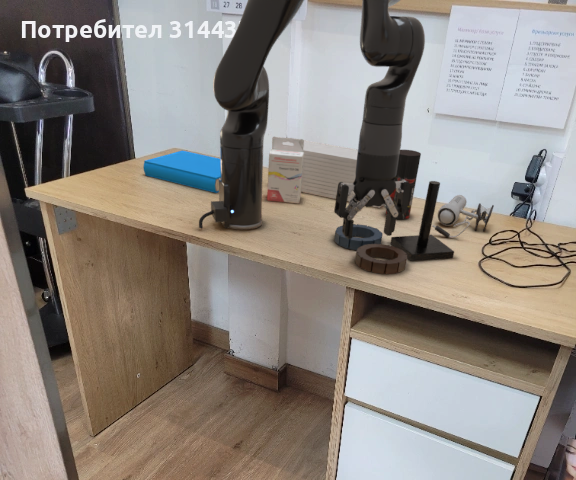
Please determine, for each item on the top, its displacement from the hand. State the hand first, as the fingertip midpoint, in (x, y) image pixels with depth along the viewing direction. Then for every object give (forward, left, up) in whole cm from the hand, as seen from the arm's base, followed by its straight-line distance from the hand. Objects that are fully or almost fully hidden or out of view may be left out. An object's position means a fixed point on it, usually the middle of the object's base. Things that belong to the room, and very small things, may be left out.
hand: (367, 236), depth 109 cm
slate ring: (+4, +12, -6) cm, 14 cm away
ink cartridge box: (-4, +43, -6) cm, 44 cm away
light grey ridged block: (+11, +48, -6) cm, 49 cm away
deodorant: (+21, +27, -6) cm, 34 cm away
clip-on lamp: (+32, +16, -6) cm, 36 cm away
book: (-23, +65, -6) cm, 69 cm away
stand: (+16, +5, -6) cm, 18 cm away
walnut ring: (+4, 0, -6) cm, 7 cm away
